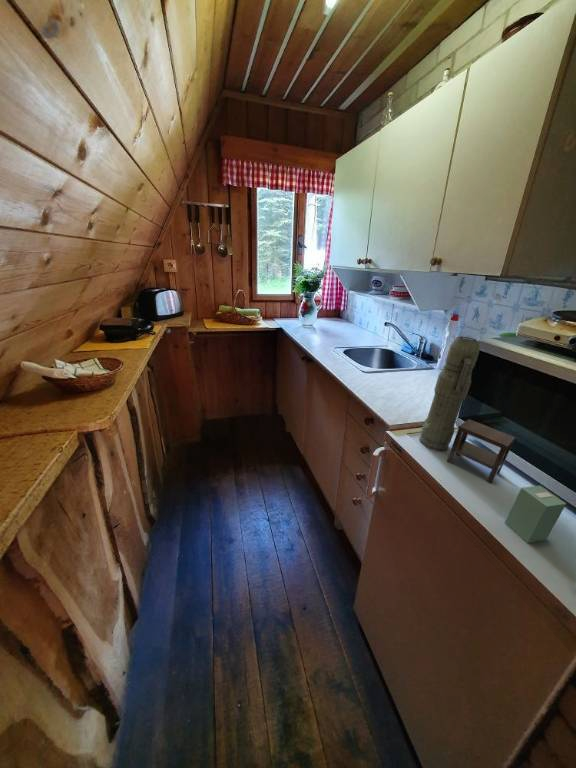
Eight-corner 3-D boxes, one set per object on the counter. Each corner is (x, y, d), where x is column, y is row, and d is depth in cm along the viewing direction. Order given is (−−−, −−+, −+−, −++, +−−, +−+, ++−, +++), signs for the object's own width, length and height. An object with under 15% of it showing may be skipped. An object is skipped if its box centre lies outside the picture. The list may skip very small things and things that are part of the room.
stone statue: (440, 435, 105) (473, 335, 92) (454, 455, 94) (494, 345, 81) (414, 432, 105) (443, 332, 93) (425, 451, 94) (461, 341, 82)
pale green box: (522, 519, 71) (540, 484, 67) (546, 539, 66) (566, 503, 62) (504, 522, 70) (521, 487, 66) (527, 543, 65) (547, 505, 61)
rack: (499, 472, 88) (515, 437, 84) (491, 483, 83) (507, 446, 78) (456, 452, 96) (468, 419, 91) (446, 461, 91) (459, 426, 86)
